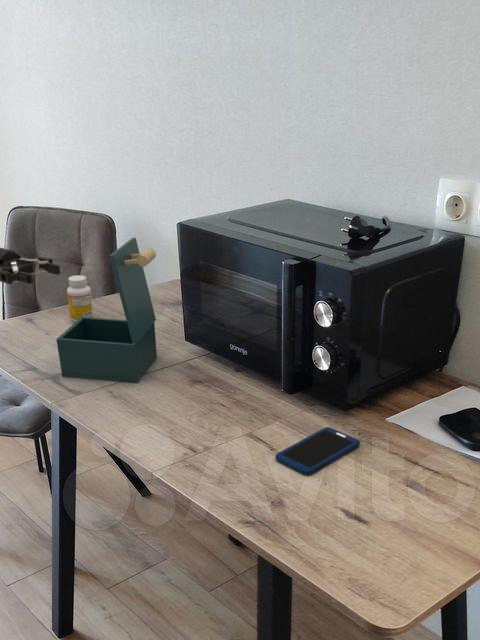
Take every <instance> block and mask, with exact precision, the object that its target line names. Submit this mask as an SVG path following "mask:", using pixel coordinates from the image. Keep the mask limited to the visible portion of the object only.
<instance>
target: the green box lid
mask: <svg viewBox="0 0 480 640" xmlns="http://www.w3.org/2000/svg"><path fill="white" fill-rule="evenodd" d="M156 256H157V254H156V251H155V250H154V249H153V248H147V249H146V250H144V251H143V252H140V249H139V246H138V242H137V238H136V237H131V238H130V239H129V240H128V241H126V242H125V243H123V244H122V245H121V246H120V247H119V248H117V249H116V250H114V251H113V252H112V253H111V254H109V255H108V257H109V260H110V264H111V268H112V272H113V275H114V280H115V283H116V287H117V290H118V294H119V298H120V301H121V304H122V309H123V312H124V316H125V320H127V324H128V328H129V331H130V335H131V339H132V343H137V342H138V340H139V339H140V338H141V337H142V336H143V334H144V333H145V332H146V331H147V330H148V329H149V327H150V326H151V325H152V324H153V323H154V324H155V321H156V320H157V318H156V314H155V310H154V307H153V302H152V299H151V295H150V290H149V286H148V281H147V277H146V273H145V270H144V267H146V266H147V265H149V264H150V263H151V262H152V261H153V260H154V259H155V258H156Z"/></svg>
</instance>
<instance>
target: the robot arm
mask: <svg viewBox="0 0 480 640" xmlns="http://www.w3.org/2000/svg"><path fill="white" fill-rule="evenodd" d="M34 268H35V270H34ZM41 273H48V274H52V275H57V276H59V275H60V274H61V268H60V265H59V264H55V263H54V261H53V258H50V257H44V256H39V255H33V256H32V258H26V257H22V256H21V255H20V254H19V253H18V252H17V251H15V250H13V249H8V248H5V247H0V282H1V283H4V284H6V285H12V284H13V282H14V283H24V284H27V285H28V284H29V285H32V284H34V277H33V275H34V276H35V275H40V274H41Z"/></svg>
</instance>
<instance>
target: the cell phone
mask: <svg viewBox="0 0 480 640" xmlns="http://www.w3.org/2000/svg"><path fill="white" fill-rule="evenodd" d="M360 442H361V441H360V440H359V439H357V438H355V437H354V436H351V435H348V434H346V433H344V432H341V431H340V430H337V429H335V428H333V427H330V426H325V427H324V428H322V429H320V430H318V431H315V432H314V433H313V434H311V435H309V436H307V437H305V438H303V439H301V440H299V441H297V442H296V443H294V444H292V445H290V446H288V447H287V448H285V449H283V450H281V451H279V452H277V453H276V454H275V455H274V456H275V460H276V461H278V462H280V463H281V464H284V465H285V466H288V467H289V468H291V469H293V470H295V471H297V472H300V473H301V474H304V475H313V473H316V472H317V471H319V470H321V469H322V468H323V467H326V466H327V465H329V464H330V463H332V462H334V461H335V460H338V459H339V458H341V457H343V456H344V455H345V454H347V453H349V452H351V451H352V450H354V449H356V448H357V447H358V446H360V444H361V443H360Z"/></svg>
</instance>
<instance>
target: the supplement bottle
mask: <svg viewBox="0 0 480 640" xmlns="http://www.w3.org/2000/svg"><path fill="white" fill-rule="evenodd" d="M67 280H68V285H69V286H68V287H67V289H66V295H67V302H68V309H69V316H70V320H71V321H73V322H74V323H75V322H76V321H77V320H78V319H80V318H81V317H91V318H95V312H94V304H93V295H92V289H91V287H90V286H89V285H87V283H88V281H87V276H86V275H78V274H77V275H71V276H69V277H68V279H67Z"/></svg>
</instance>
